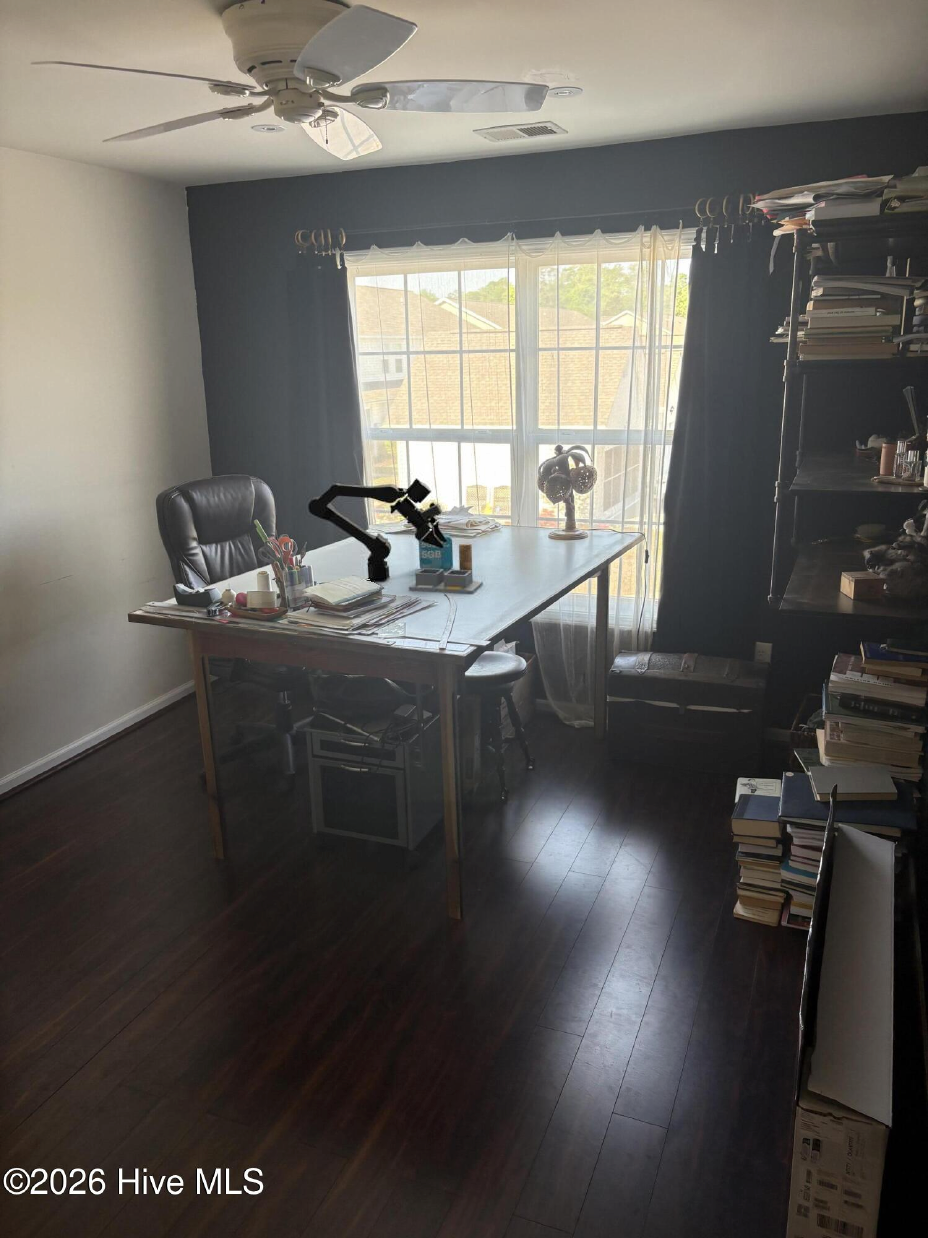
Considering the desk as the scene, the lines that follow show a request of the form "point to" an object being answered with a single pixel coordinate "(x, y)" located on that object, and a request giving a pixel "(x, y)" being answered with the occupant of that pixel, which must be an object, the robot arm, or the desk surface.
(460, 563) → the walnut peg
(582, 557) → the desk surface
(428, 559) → the data package
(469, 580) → the socket block
